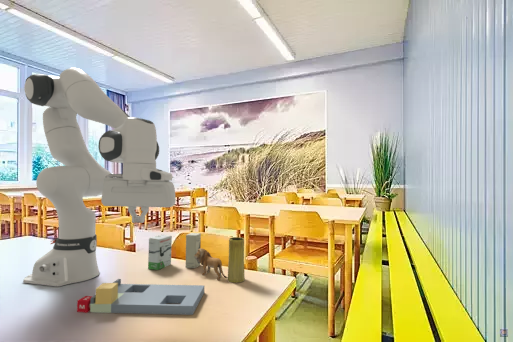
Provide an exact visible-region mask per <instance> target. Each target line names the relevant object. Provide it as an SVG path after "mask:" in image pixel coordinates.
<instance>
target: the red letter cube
mask: <svg viewBox="0 0 513 342" xmlns="http://www.w3.org/2000/svg"><path fill="white" fill-rule="evenodd" d="M93 296H94V295H90V296H89V295H85V296H82V297H81V298H79V299H77V300H76V301H77V302H76V304H77V305H76V310H77V311H76V312H77V313H85V314H88V313H89V312H90V301H91V297H93Z"/></svg>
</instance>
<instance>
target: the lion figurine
mask: <svg viewBox="0 0 513 342" xmlns="http://www.w3.org/2000/svg"><path fill="white" fill-rule="evenodd" d="M194 257H195V259H196V260H198V261H199V262H200V266H202V268H203V269H202V270H203V272H202V276H205V275H207V274H209V273H210V272H211V269H213V270H214V272H215V274H216V275H217V278H216V281H220V280H221V276H222V277H223V278H224V279H228V276H227V275H225V274H224V271H223V267H222V266H223V264H222V260H221V259H220V258H217V257H213V256H212V255H211V253H210V252H209V251H208V250H206V249H204V248H203V247H202V248H200V249H198V252H197V254H196V255H195V256H194Z"/></svg>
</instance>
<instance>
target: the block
mask: <svg viewBox="0 0 513 342" xmlns="http://www.w3.org/2000/svg"><path fill="white" fill-rule="evenodd" d="M95 295H96V302H95V304H112V303H113V302H114V301H115V300H116V299H117V298H118V283H113V282H102V283H101V284H100V285H99V286H97V287H96V288H95Z"/></svg>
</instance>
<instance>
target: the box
mask: <svg viewBox="0 0 513 342" xmlns="http://www.w3.org/2000/svg"><path fill="white" fill-rule="evenodd" d="M201 236H202V235H201V233H200V232H197V233H196V232H191V233H187V234H186V235H185V268H187V269H197V268H198V267H199V266H201V263H200V262H199V261H198V260H196V259H195V257H194V256H195V255H196V254H197V252H198V249H200V248H201V242H202V241H201V240H202V239H201V238H202V237H201Z"/></svg>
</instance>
